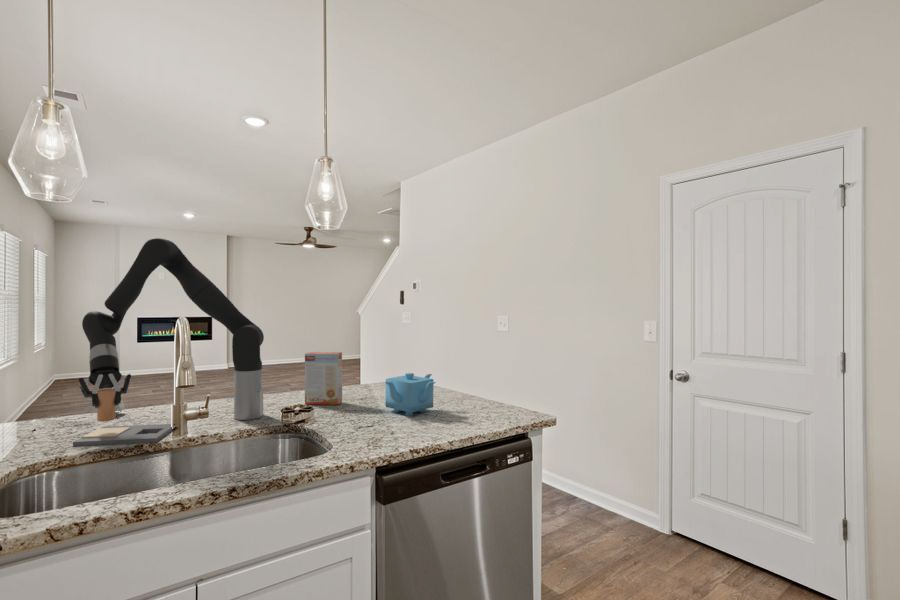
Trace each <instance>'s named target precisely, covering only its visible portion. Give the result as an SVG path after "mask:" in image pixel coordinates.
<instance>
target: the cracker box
mask: <svg viewBox="0 0 900 600" xmlns="http://www.w3.org/2000/svg"><path fill="white" fill-rule="evenodd" d="M342 402H343V351H342V352H340V351H339V352H337V351H336V352H333V351H330V352H329V351H310V352H306V353H304V404H305V405H326V406H328V405H329V406H338V405H340V404H341V403H342Z"/></svg>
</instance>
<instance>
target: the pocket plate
mask: <svg viewBox="0 0 900 600" xmlns="http://www.w3.org/2000/svg"><path fill="white" fill-rule="evenodd" d="M171 424H172V423H163V424H160V423H159V424H141V425H140V424H139V425H138V424H137V425H135V424H134V425H115V426H114V425H111V426H109V425H108V426H102V427H100V428H97V429H95V430H93V431H91V432H89V433H87V434H85V435H82V436H81V437H80V438H78V439H75V440H74V441H72V447H79V446H81V447H82V446H83V447H84V446H102V445H105V444H106V445H125V444H124V443H128V444H144V443H145V444H146V443H148V442H149V443H156V442H159V440H161V439H163V438H164V437H165V436H167V435H169V434H170V433H171V432H172V431H171V430H172V427H171Z"/></svg>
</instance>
